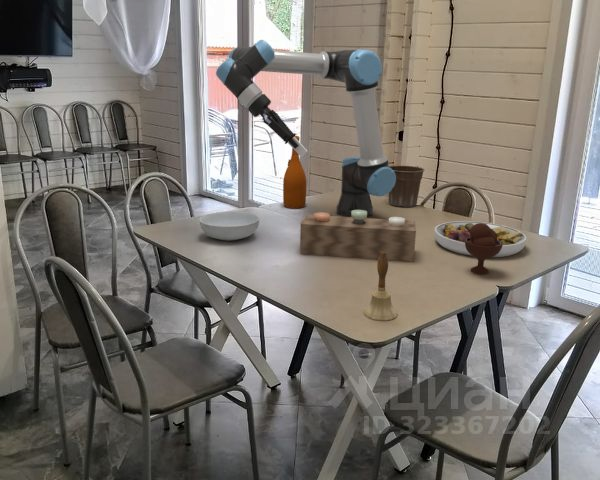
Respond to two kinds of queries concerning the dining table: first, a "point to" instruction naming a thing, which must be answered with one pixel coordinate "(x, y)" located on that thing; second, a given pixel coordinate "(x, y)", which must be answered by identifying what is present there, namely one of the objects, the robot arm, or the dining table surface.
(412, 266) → the dining table surface
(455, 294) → the dining table surface
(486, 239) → the ice cream bowl
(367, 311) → the hand bell
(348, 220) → the console
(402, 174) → the plant pot
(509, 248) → the bowl
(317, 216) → the terracotta button
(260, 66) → the robot arm
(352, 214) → the sage button
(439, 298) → the dining table surface
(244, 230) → the serving bowl
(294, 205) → the wine bottle
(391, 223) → the cream button
